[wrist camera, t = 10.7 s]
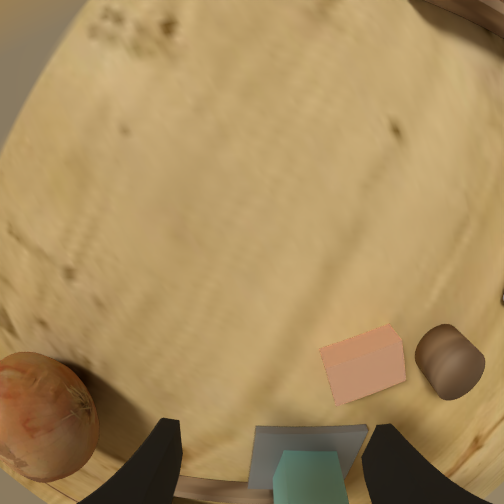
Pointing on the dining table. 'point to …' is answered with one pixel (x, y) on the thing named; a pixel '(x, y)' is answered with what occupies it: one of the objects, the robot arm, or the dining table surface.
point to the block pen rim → (477, 12)
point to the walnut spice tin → (449, 361)
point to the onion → (44, 418)
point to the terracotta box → (364, 364)
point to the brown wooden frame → (221, 491)
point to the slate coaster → (301, 448)
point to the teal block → (309, 478)
